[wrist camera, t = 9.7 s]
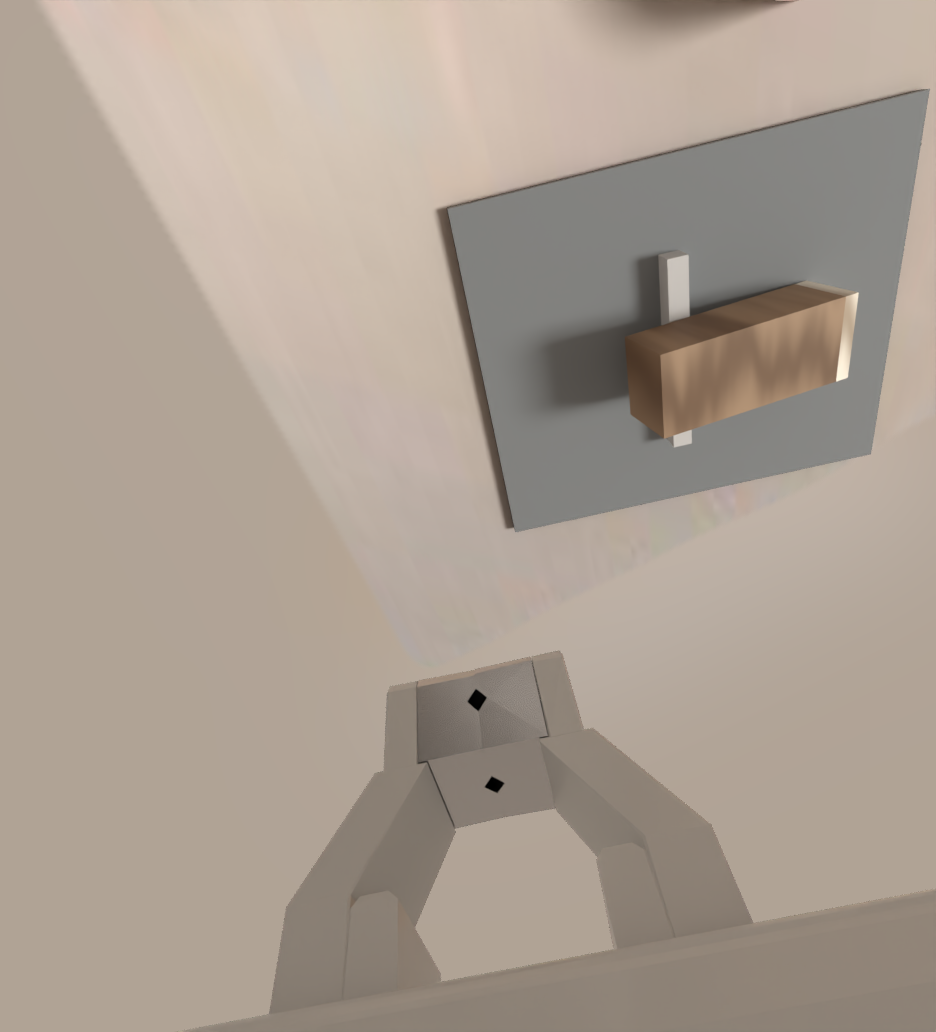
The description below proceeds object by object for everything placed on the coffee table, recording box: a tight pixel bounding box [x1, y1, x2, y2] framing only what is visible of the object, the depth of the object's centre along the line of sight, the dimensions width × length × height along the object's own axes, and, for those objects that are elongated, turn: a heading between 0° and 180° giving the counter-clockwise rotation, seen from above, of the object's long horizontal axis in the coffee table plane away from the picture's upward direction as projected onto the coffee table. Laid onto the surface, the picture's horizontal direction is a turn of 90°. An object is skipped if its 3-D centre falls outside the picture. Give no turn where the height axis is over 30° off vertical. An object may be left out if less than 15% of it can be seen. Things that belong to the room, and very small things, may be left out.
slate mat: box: [447, 89, 930, 532], centre depth 39 cm, size 22×26×2 cm
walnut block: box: [625, 280, 859, 439], centre depth 36 cm, size 5×4×12 cm
